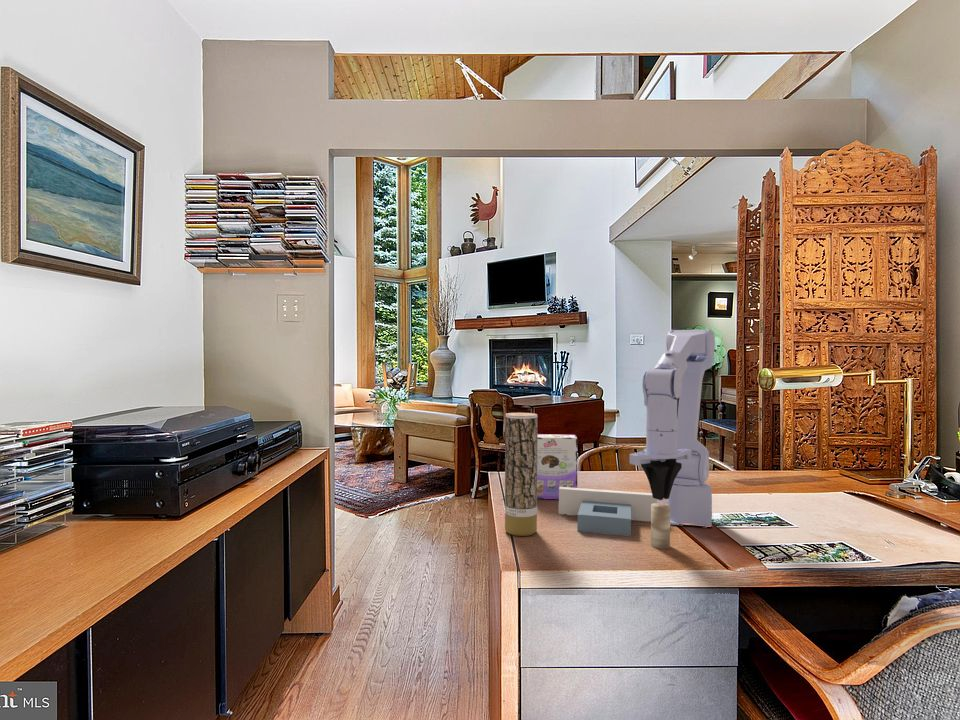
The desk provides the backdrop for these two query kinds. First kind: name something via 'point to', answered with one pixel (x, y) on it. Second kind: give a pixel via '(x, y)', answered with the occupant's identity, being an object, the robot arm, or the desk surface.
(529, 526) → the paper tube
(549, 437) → the candy box
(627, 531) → the socket block
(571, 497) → the wall
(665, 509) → the dowel
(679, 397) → the robot arm
